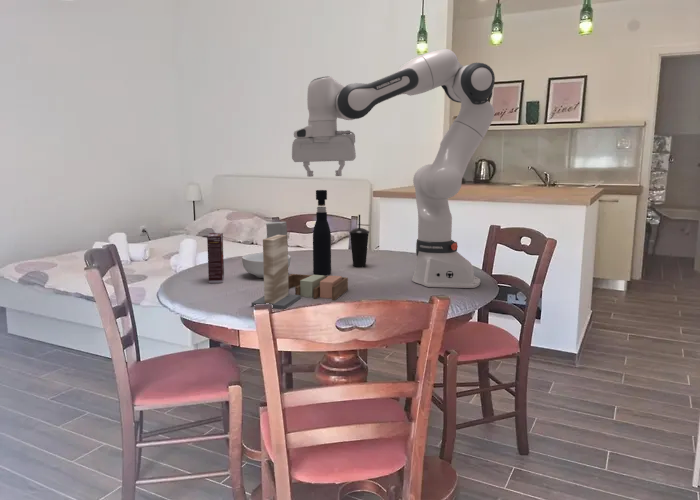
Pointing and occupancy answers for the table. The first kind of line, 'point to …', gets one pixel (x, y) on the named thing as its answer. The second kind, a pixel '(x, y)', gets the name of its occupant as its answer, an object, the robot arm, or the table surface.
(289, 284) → the offcut rack
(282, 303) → the slate mat
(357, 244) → the drinking cup
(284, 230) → the skincare box
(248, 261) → the cereal bowl
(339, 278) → the terracotta offcut
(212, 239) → the supplement box
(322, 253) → the wine bottle
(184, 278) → the table surface
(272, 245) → the beige mottled block
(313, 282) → the sage offcut
